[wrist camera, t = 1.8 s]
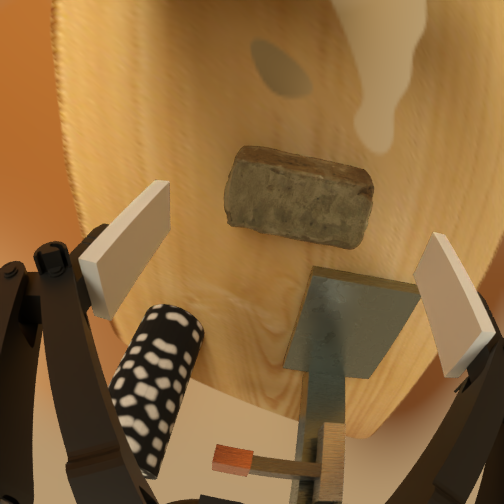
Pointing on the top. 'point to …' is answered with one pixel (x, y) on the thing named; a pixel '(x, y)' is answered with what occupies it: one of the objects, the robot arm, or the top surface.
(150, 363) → the white-spotted black cylinder
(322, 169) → the stone block
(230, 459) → the hammer
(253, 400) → the top surface
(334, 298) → the press
